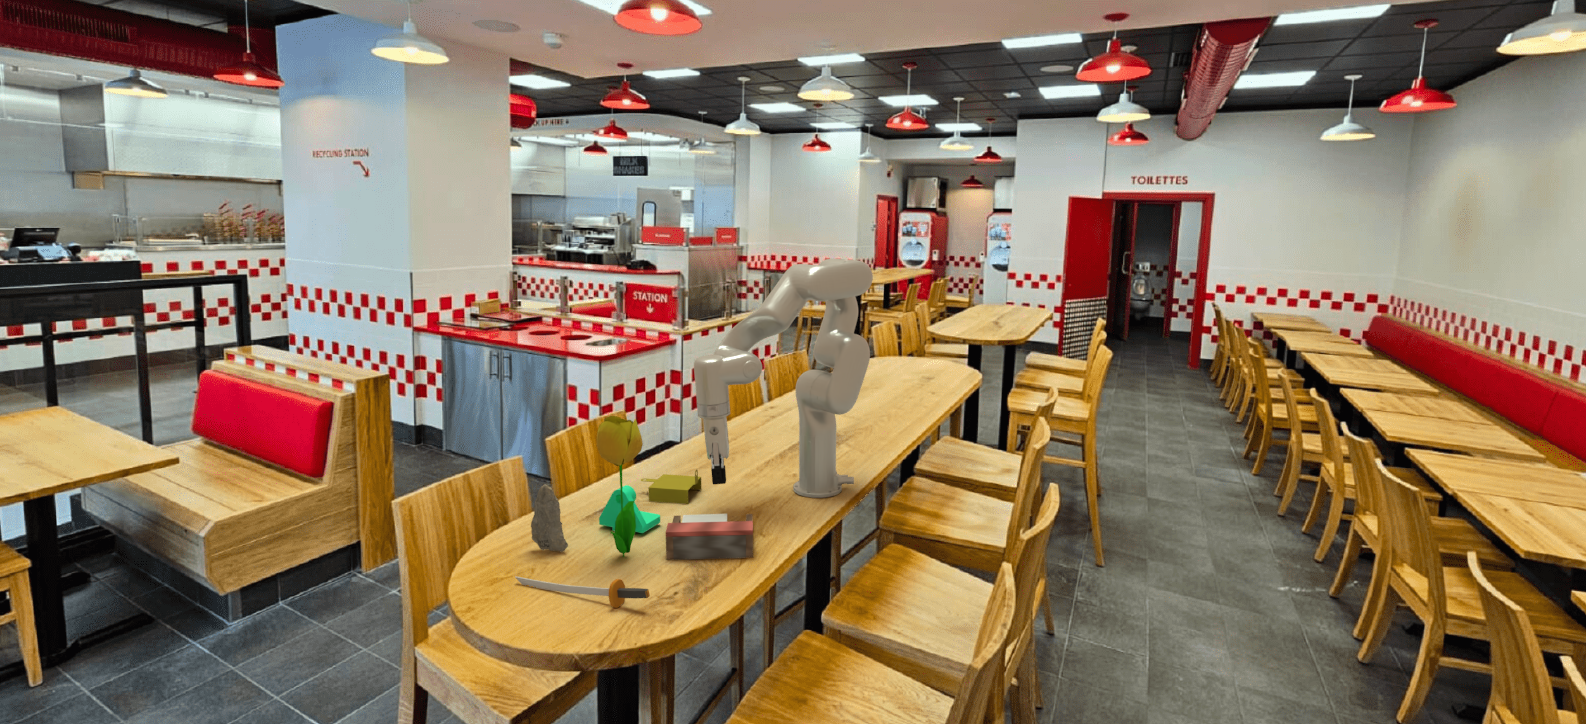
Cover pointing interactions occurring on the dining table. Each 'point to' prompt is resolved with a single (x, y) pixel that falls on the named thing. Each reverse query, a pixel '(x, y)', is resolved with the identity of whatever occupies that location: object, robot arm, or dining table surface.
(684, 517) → the panel
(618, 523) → the flower
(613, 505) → the camera mount
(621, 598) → the katana
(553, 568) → the dining table surface
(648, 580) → the dining table surface
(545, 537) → the stone tool
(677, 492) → the bracket
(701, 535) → the bridge
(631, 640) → the dining table surface
